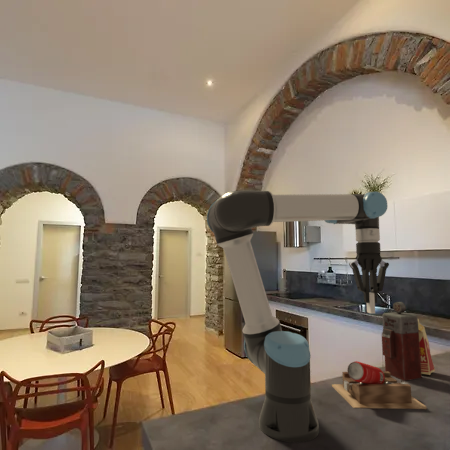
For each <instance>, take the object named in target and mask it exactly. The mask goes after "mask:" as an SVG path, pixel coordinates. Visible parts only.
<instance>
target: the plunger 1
mask: <svg viewBox="0 0 450 450" xmlns="http://www.w3.org/2000/svg"><path fill="white" fill-rule="evenodd" d="M352 384H365V383H361V382H359V383H348V382H347V381H344V389H345V390H346V391H349V388H352Z"/></svg>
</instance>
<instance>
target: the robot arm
mask: <svg viewBox="0 0 450 450" xmlns="http://www.w3.org/2000/svg"><path fill="white" fill-rule="evenodd" d="M387 210H388V200H387V198H386V196H385V195H384V194H383V193H382V192H379V191H367V192H365V193H361V194H360V193H352V194H351V193H349V194H348V193H347V194H346V193H343V194H341V193H339V194H337V193H335V194H332V193H331V194H327V193H325V194H323V193H322V194H320V193H319V194H273V193H272V192H271V191H270V190H243V189H241V190H231V191H228V192H227V193H224V194H223V195H221V196H220V197H219V198H218V199H216V200H215V201H214V202H212V204H210V207H209V209H208V210H207V214H206V222H207V226H208V227H209V229H210V231H211V232H212V233H213V235H214V239H215V243H216V245H217V246H218V247H221V248H222V249H223V252H224V255H225V258H226V262H227V266H228V269H229V271H230V272H229V273H230V275H231V278H232V282H233V285H234V290H235V293H236V296H237V300H238V302H239V306H240V310H241V314H242V317H243V319H244V325H243V328H242V333H243V337H244V341H243V348H244V352H245V353H244V354H245V355H246V357H247V358H248V360H249V361H250V362H251V363H252V364H253V365H254V366H255V367H257V368H258V369H259V370H260V371H261V372H262V373H263V374H264V376H265V377H264V382H265V383H264V389H265V390H264V391H265V392H264V393H265V398H264V400H263V404H262V407H261V410H260V413H259V418H258V427H259V429H260V431H261V432H262V433H263V434H265V435H266V436H268V437H270V438H272V439H274V440H278V441H281V442H286V443H306V442H310V441H313V440H314V439H316V438H317V437H318V435H319V434H320V426H319V425H320V424H319V420H318V417H317V414H316V412H315V409H314V406H313V403H312V393H311V391H312V389H311V388H312V386H311V384H312V383H311V350H310V344H309V341H308V340H307V339H306V338H305V336H303V335H301V334H298V333H295V332H291V331H284V330H282V329H283V328H282V326H281V322H280V320H279V319H278V318H277V317H275V316H274V315H273V312H272V309H271V306H270V303H269V299H268V297H267V292H266V290H265V286H264V283H263V279H262V276H261V272H260V270H259V267H258V263H257V258H256V256H255V252H254V248H253V246H252V242H251V240H252V238H253V236H254V231H253V228H258V227H269V226H271V225H272V224H273V223H282V222H283V223H287V222H290V223H291V222H315V221H316V222H317V221H324V222H325V223H327V224H333V225H354V226H355V229H354V230H355V241H356V244H355V250H356V257H355V260H353V261H350V262H349V263H348V265H349V267H350V268H351V271H352V273H353V277H354V281H355V284H356V287H357V291H359V292H362V293H363V301H364V303H366V312H367V314H372V315H373V314H376V304H377V303H378V294H379V292H383V290H384V285H385V283H384V282H385V279H386V273H387V269H388V268H389V266H390V263H389V262H386V261H384V260H383V258H382V256H381V243H380V242H379V241H380V239H381V238H380V237H381V236H380V217H382V216H384V215H385V214H386V213H387ZM359 267H360V268H361V271H360V269H359ZM378 267H379V269H378ZM377 273H378V274H377Z"/></svg>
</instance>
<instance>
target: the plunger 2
mask: <svg viewBox="0 0 450 450" xmlns="http://www.w3.org/2000/svg"><path fill="white" fill-rule="evenodd" d="M400 383H401V384H408V385H409V383H408V382H407V381H404V380H401V379H400ZM385 384H392V383H391V382H389V381H387V382H385Z"/></svg>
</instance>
